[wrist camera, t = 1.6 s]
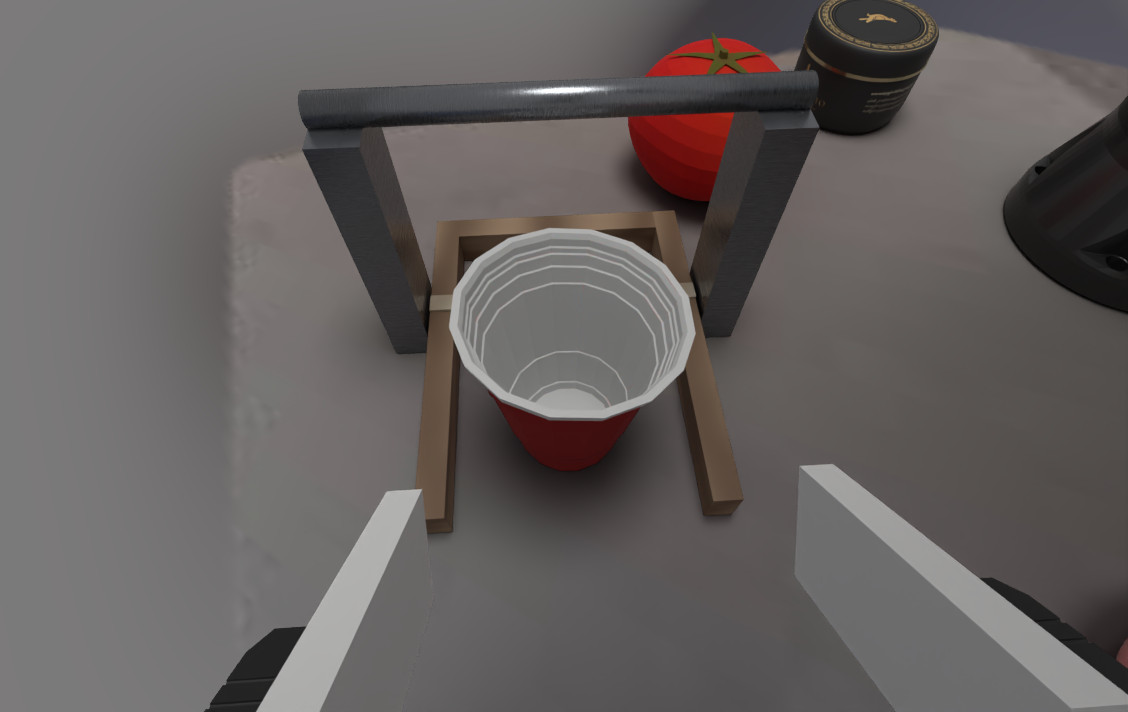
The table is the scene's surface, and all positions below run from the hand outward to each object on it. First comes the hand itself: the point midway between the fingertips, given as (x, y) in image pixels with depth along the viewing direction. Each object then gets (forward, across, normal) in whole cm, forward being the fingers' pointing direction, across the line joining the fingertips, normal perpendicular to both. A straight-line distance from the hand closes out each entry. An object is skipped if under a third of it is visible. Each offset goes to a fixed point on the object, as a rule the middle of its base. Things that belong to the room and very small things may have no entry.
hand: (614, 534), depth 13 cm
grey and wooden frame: (+25, 0, -2) cm, 25 cm away
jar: (+44, +27, +17) cm, 54 cm away
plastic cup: (+22, 0, -5) cm, 22 cm away
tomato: (+37, +12, +10) cm, 40 cm away
